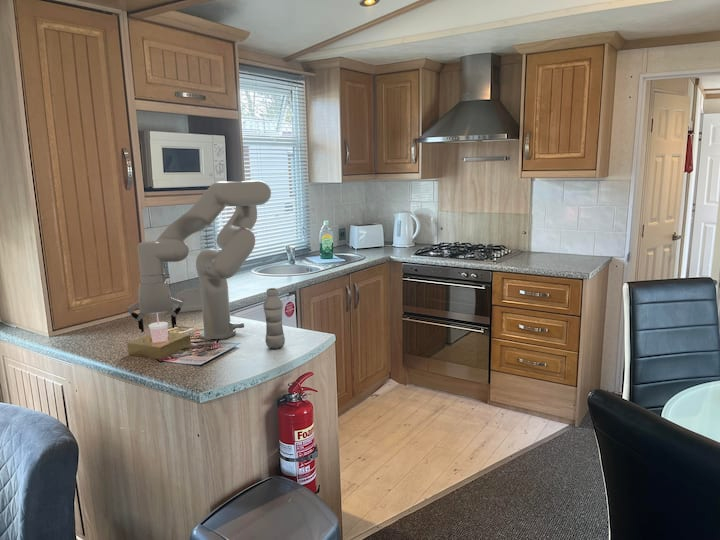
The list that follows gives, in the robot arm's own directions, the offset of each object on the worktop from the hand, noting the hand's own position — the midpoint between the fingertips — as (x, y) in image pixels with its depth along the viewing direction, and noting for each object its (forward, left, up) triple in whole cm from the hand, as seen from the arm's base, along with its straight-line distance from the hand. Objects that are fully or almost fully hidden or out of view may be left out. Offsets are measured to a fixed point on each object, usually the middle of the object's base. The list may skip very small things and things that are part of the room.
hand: (158, 329), depth 177 cm
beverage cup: (0, 0, -7) cm, 8 cm away
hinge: (-16, -53, -8) cm, 56 cm away
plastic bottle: (-36, +15, -7) cm, 40 cm away
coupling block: (0, 0, -7) cm, 7 cm away
